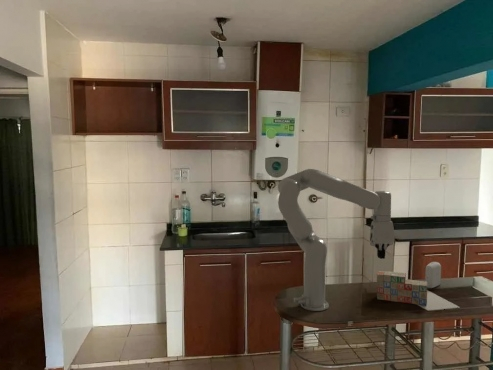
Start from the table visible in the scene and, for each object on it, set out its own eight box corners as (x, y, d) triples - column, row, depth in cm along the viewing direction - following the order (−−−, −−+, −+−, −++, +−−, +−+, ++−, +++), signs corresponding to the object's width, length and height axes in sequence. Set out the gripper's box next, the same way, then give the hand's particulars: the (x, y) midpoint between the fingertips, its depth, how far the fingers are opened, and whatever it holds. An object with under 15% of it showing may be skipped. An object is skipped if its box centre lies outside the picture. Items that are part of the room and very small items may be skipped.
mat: (427, 311, 163) (427, 310, 163) (393, 290, 189) (393, 289, 189) (459, 308, 167) (459, 307, 167) (421, 288, 192) (421, 287, 192)
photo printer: (432, 289, 191) (432, 265, 190) (423, 286, 194) (424, 263, 193) (441, 284, 197) (442, 261, 196) (433, 282, 200) (434, 259, 199)
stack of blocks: (427, 301, 173) (427, 275, 172) (426, 306, 168) (426, 279, 167) (378, 294, 183) (378, 269, 182) (376, 299, 178) (376, 273, 177)
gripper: (371, 220, 165) (370, 261, 167) (401, 219, 168) (400, 259, 170) (362, 217, 173) (362, 256, 174) (392, 216, 175) (391, 254, 177)
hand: (381, 257), depth 172 cm, fingers closed
